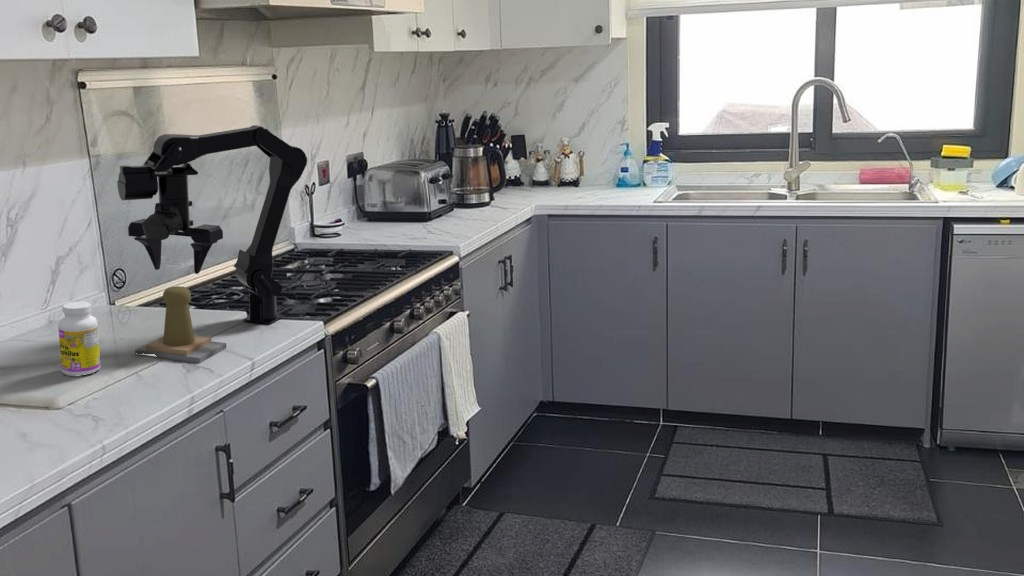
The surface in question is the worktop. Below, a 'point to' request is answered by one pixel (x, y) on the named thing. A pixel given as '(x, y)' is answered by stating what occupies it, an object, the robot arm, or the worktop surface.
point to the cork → (177, 317)
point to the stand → (183, 349)
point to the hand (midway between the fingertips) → (177, 271)
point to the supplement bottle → (78, 340)
